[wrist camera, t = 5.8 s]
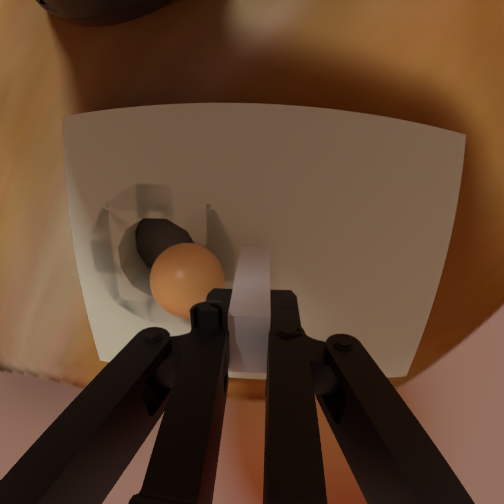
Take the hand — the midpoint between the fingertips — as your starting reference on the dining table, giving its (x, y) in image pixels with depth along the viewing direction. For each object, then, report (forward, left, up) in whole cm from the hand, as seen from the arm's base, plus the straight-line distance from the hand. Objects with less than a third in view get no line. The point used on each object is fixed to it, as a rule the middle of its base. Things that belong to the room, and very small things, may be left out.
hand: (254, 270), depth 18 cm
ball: (0, -4, +1) cm, 4 cm away
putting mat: (0, 0, -4) cm, 4 cm away
